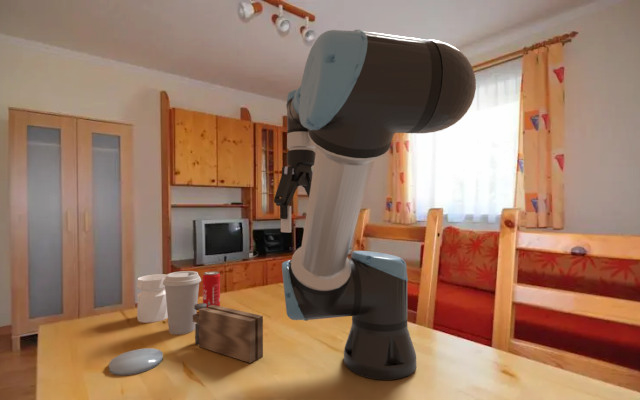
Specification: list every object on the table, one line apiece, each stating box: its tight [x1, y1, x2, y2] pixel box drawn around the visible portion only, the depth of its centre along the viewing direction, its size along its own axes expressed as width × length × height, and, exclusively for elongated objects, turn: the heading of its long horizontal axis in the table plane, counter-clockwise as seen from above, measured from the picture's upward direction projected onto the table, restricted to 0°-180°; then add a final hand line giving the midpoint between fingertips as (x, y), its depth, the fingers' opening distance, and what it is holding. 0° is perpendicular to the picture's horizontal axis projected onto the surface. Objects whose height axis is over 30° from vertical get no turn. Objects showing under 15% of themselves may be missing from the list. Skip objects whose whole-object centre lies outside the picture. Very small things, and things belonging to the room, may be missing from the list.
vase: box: [136, 273, 168, 324], centre depth 100 cm, size 9×9×12 cm
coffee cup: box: [163, 270, 202, 336], centre depth 90 cm, size 10×10×15 cm
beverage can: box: [202, 270, 221, 308], centre depth 106 cm, size 5×5×12 cm
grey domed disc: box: [108, 347, 164, 376], centre depth 71 cm, size 10×10×1 cm
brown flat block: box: [194, 302, 264, 360], centre depth 78 cm, size 19×4×9 cm, turn 59°
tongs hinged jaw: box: [193, 308, 256, 364], centre depth 76 cm, size 19×2×9 cm, turn 59°
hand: (301, 230), depth 89 cm, fingers open, 13 cm apart
